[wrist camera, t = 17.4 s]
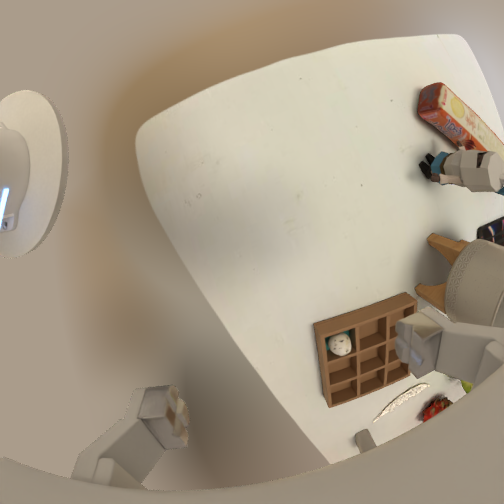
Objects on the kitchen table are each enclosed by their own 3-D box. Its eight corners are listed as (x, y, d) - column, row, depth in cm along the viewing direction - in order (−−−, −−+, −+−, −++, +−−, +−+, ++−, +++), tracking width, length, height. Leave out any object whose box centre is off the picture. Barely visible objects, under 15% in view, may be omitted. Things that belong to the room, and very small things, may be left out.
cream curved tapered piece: (428, 375, 44) (432, 379, 42) (428, 386, 45) (432, 390, 44) (368, 412, 45) (371, 417, 43) (371, 421, 46) (374, 426, 44)
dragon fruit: (436, 384, 48) (423, 409, 52) (423, 411, 43) (410, 433, 48) (464, 394, 41) (447, 419, 46) (453, 422, 37) (436, 444, 42)
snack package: (411, 117, 31) (440, 110, 24) (419, 84, 29) (446, 73, 23) (486, 182, 34) (512, 186, 28) (492, 152, 33) (517, 153, 26)
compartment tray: (313, 323, 38) (320, 335, 34) (405, 291, 38) (417, 300, 34) (323, 395, 42) (328, 408, 38) (401, 365, 42) (410, 375, 39)
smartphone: (479, 228, 35) (514, 212, 35) (476, 228, 36) (512, 212, 36) (478, 265, 37) (513, 245, 37) (476, 264, 38) (511, 244, 38)
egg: (323, 345, 38) (333, 365, 33) (327, 327, 37) (338, 346, 32) (342, 344, 38) (354, 363, 33) (346, 326, 37) (360, 344, 32)
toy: (433, 137, 32) (506, 130, 17) (451, 168, 33) (522, 174, 19) (404, 171, 33) (482, 175, 18) (425, 203, 34) (500, 220, 20)
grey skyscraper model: (368, 428, 46) (387, 466, 35) (368, 439, 48) (385, 475, 36) (355, 433, 46) (373, 473, 35) (356, 444, 48) (372, 481, 36)
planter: (470, 269, 38) (537, 305, 21) (426, 316, 39) (490, 369, 22) (452, 212, 35) (536, 235, 18) (402, 261, 36) (486, 311, 19)
